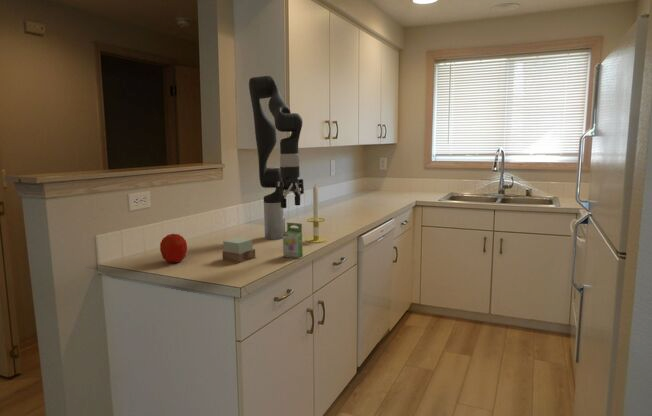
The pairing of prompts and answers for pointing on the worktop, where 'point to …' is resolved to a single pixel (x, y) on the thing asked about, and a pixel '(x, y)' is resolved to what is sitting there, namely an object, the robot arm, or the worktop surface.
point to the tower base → (238, 256)
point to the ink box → (293, 241)
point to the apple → (173, 248)
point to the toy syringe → (315, 219)
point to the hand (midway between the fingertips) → (290, 206)
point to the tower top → (238, 245)
